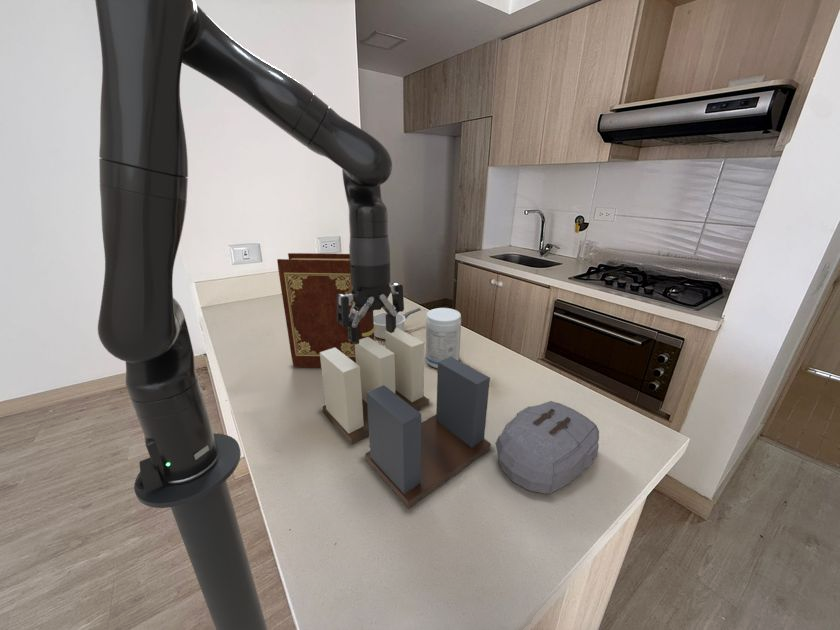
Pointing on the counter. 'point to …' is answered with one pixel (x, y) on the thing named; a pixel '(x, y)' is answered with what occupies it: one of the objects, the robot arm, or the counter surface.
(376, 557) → the counter surface
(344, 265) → the decorative book
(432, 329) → the supplement tub
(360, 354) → the cream book
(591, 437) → the grey rounded bag
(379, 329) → the saucepan
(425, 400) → the book rack
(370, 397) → the grey book left
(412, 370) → the cream book right
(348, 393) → the cream book left
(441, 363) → the grey book right
